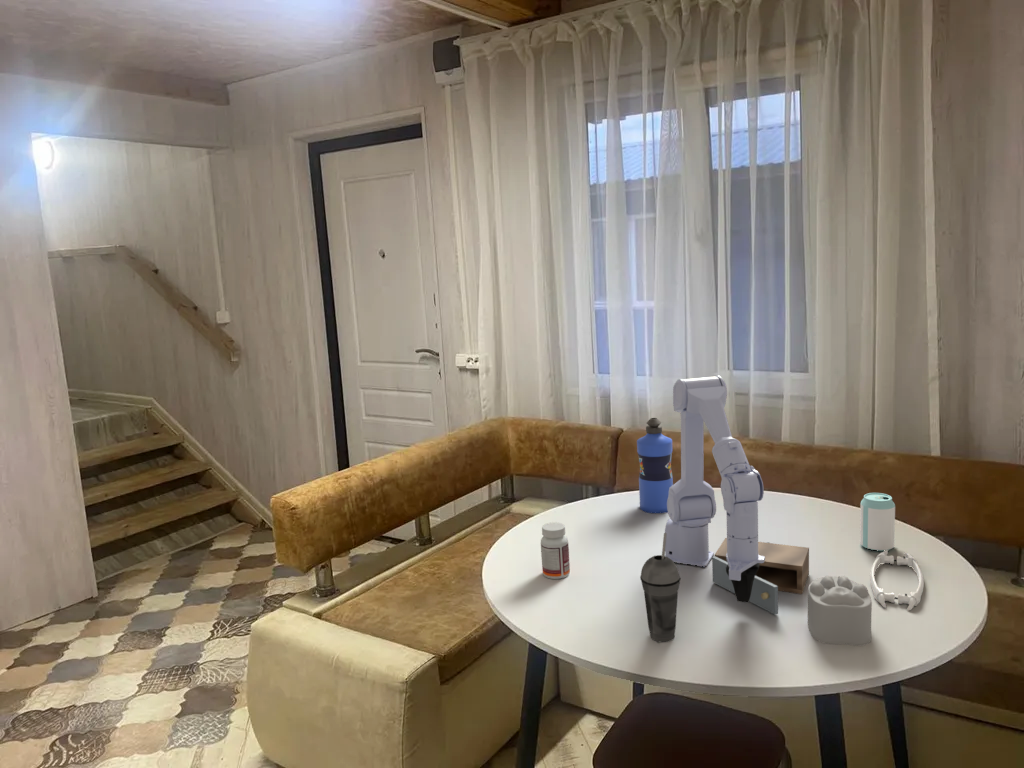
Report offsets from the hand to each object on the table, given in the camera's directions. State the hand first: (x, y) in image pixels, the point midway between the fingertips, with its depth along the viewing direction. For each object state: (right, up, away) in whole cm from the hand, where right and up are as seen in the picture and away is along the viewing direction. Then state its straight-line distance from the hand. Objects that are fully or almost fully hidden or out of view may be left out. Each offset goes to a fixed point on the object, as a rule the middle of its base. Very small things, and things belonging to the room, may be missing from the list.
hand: (743, 600), depth 149 cm
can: (+39, +4, +27) cm, 48 cm away
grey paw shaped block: (+16, -3, -6) cm, 17 cm away
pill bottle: (-35, -1, +24) cm, 42 cm away
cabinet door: (+2, -1, +7) cm, 7 cm away
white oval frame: (+34, 0, +10) cm, 36 cm away
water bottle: (-5, +8, +62) cm, 63 cm away
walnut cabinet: (+9, 0, +16) cm, 18 cm away
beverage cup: (-17, -5, -5) cm, 18 cm away
